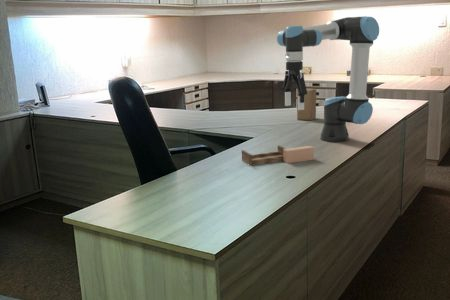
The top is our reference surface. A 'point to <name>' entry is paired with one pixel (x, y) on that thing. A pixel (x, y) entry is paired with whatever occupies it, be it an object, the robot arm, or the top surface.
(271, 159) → the rack
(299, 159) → the pink rectangular block
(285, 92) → the robot arm
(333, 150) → the top surface
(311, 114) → the wooden block
